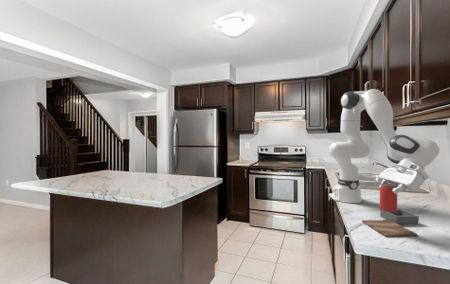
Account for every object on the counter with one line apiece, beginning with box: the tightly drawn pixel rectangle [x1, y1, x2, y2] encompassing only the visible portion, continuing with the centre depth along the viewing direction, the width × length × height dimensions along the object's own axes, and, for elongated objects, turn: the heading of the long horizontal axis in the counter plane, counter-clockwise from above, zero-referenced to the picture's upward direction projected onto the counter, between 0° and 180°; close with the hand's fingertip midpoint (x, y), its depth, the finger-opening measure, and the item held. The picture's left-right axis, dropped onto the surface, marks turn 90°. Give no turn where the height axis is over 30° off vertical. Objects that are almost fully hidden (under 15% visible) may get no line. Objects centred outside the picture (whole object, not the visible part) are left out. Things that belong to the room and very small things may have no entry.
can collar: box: [379, 208, 420, 226], centre depth 115 cm, size 11×11×4 cm
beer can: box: [379, 183, 398, 212], centre depth 105 cm, size 7×7×12 cm
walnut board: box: [361, 219, 418, 238], centre depth 105 cm, size 16×14×1 cm
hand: (386, 190), depth 105 cm, fingers closed on beer can, 7 cm apart
